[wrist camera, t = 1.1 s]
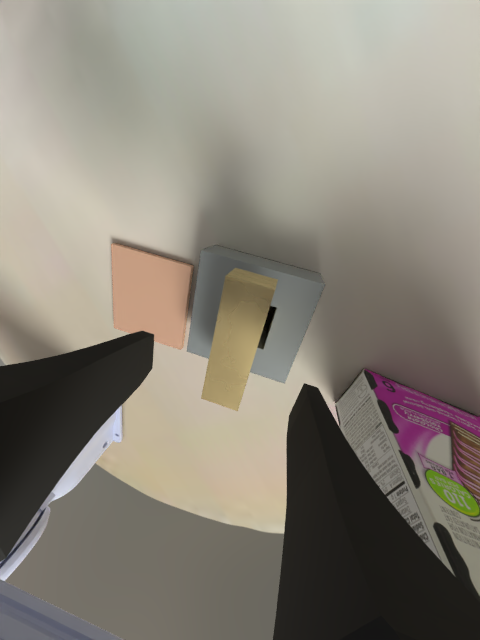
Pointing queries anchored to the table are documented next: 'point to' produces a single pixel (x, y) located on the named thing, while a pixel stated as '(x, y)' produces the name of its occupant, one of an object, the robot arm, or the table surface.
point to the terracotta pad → (150, 294)
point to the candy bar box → (421, 465)
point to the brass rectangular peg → (237, 335)
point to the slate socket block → (289, 299)
